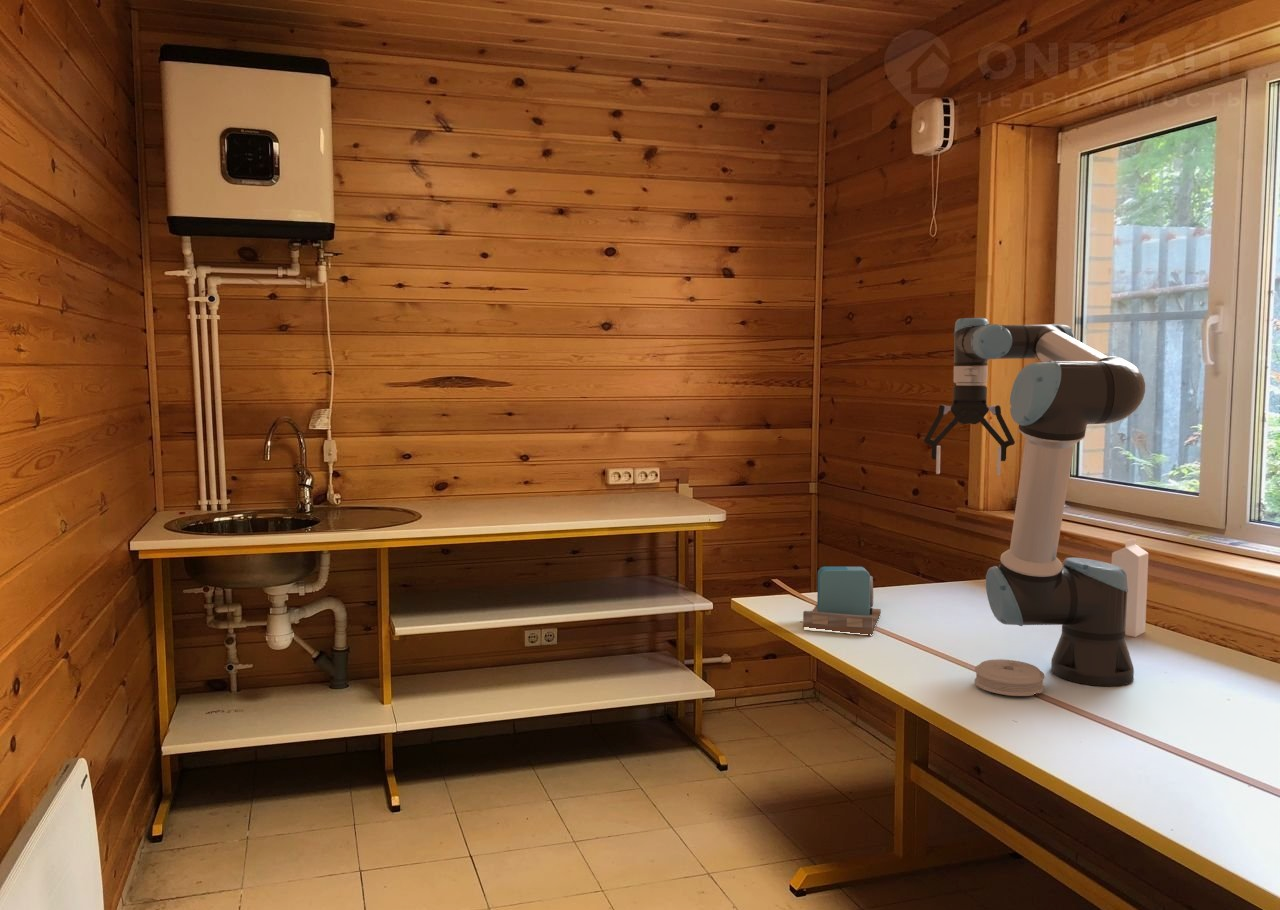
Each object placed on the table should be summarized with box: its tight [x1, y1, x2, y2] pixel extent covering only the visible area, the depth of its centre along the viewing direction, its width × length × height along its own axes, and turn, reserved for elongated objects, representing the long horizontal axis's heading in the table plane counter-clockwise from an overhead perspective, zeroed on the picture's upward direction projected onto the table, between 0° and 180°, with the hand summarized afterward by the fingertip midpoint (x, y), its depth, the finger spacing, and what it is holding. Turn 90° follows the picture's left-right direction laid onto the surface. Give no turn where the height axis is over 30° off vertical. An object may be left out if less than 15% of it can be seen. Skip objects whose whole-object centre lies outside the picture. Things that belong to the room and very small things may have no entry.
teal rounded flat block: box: [816, 566, 871, 616], centre depth 234 cm, size 12×4×12 cm, turn 87°
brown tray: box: [802, 604, 882, 636], centre depth 235 cm, size 20×16×4 cm
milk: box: [1111, 537, 1149, 638], centre depth 224 cm, size 6×6×22 cm
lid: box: [974, 658, 1046, 697], centre depth 187 cm, size 13×13×5 cm
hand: (967, 474), depth 228 cm, fingers open, 13 cm apart
